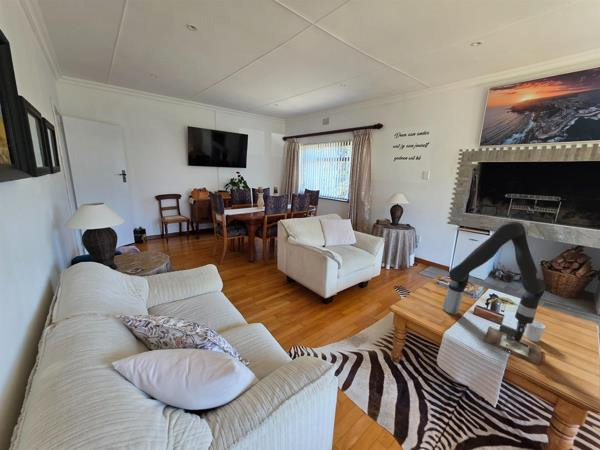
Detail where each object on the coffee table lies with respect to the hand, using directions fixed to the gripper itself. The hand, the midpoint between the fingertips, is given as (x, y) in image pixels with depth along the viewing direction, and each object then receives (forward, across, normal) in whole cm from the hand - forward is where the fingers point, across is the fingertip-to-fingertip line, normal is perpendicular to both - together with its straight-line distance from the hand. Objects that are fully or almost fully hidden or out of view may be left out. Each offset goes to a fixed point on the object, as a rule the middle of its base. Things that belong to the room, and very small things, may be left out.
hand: (517, 338), depth 140 cm
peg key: (+2, 0, -2) cm, 3 cm away
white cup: (+5, -16, +6) cm, 18 cm away
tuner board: (+5, +2, -2) cm, 5 cm away
